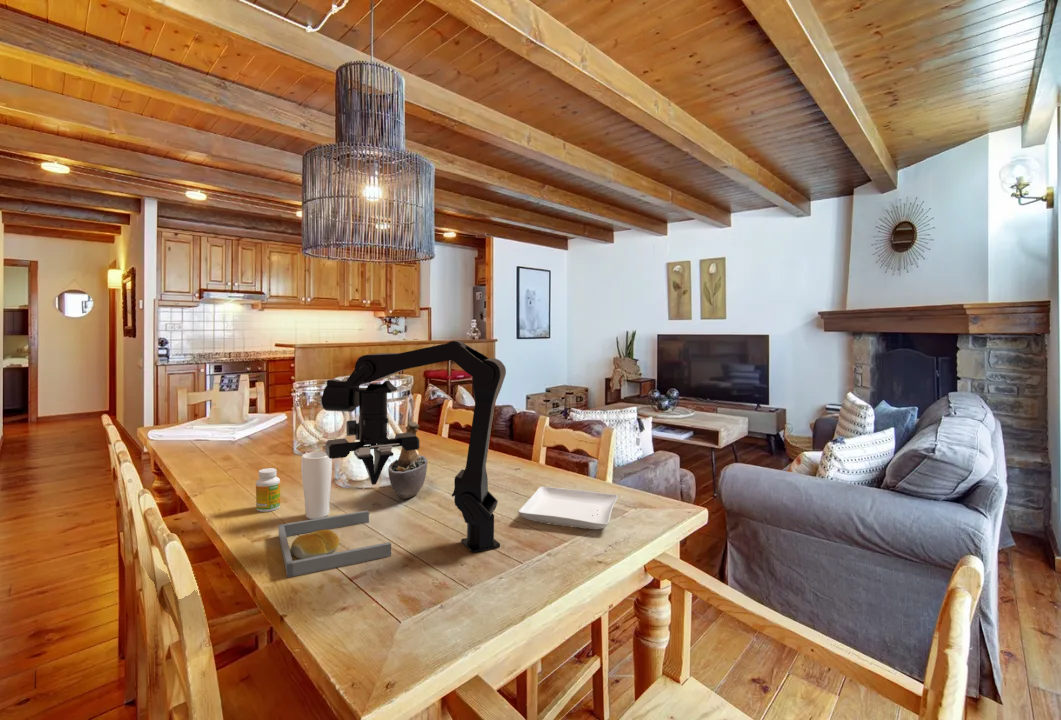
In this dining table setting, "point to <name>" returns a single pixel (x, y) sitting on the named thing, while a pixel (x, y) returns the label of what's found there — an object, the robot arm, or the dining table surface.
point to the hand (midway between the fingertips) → (373, 484)
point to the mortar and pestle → (408, 470)
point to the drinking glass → (316, 483)
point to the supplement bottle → (267, 490)
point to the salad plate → (569, 507)
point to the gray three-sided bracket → (334, 558)
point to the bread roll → (315, 544)
